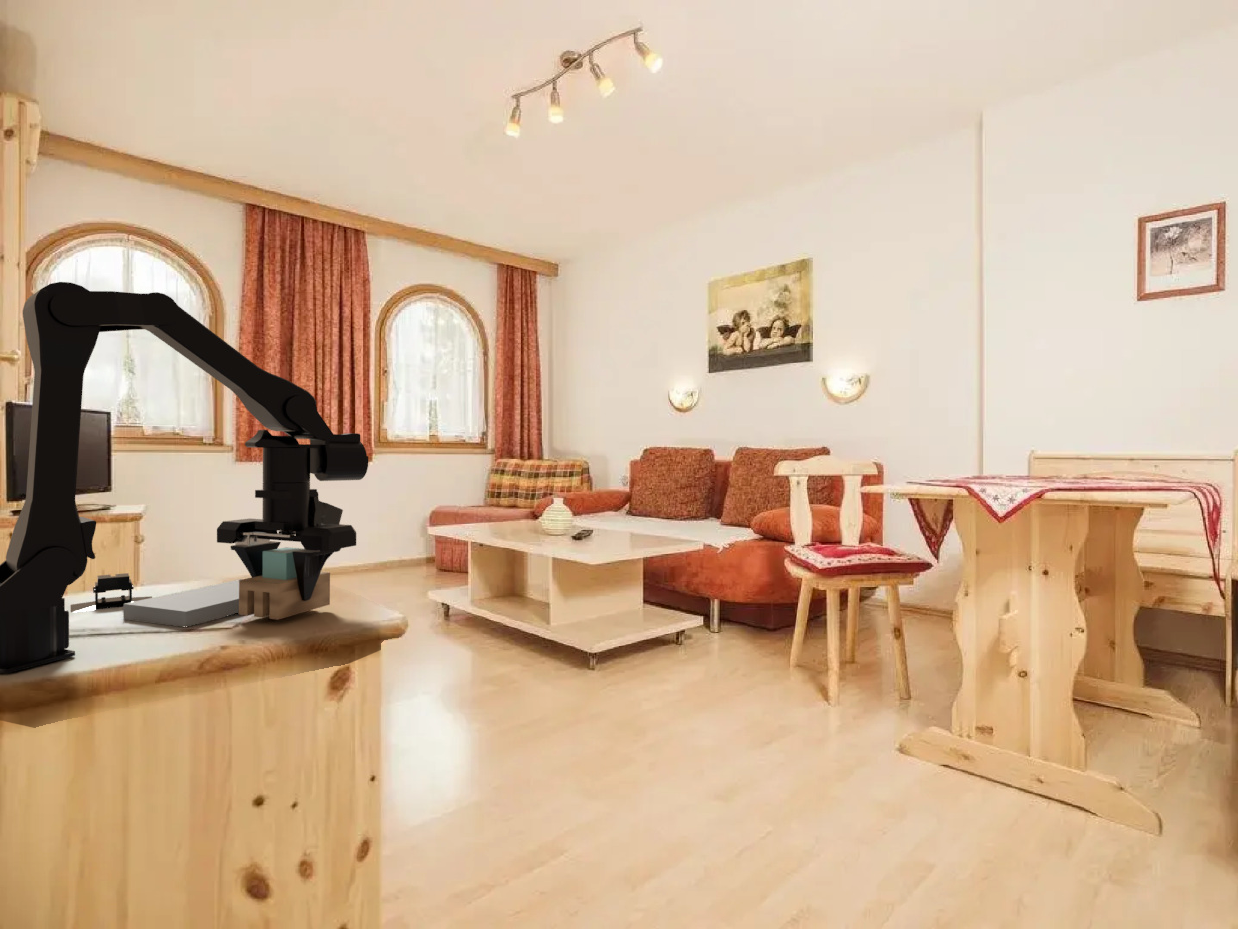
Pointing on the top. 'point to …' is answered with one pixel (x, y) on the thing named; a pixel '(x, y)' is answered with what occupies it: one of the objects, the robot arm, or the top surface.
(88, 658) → the top surface
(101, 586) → the black open frame block
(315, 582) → the robot arm
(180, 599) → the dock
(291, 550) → the teal cube
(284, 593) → the wooden slotted block
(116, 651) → the top surface
